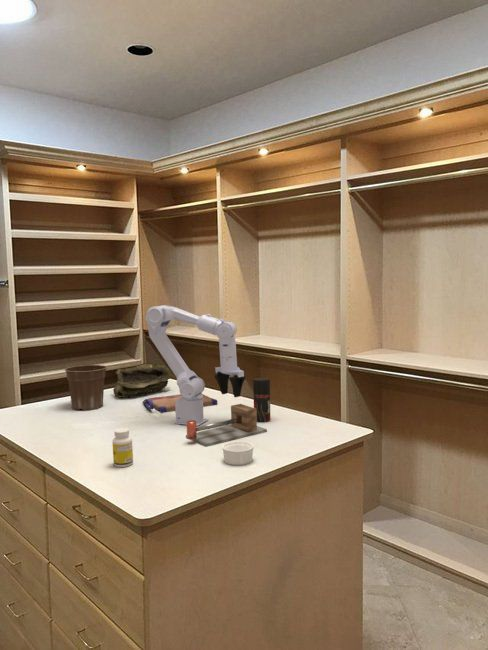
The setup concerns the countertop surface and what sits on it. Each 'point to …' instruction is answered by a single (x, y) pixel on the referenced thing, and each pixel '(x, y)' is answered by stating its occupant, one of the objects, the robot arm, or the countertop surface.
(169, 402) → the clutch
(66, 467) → the countertop surface
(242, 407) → the eye block
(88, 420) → the countertop surface
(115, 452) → the supplement bottle
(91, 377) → the plant pot
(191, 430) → the copper head mallet
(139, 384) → the hollow geode rock
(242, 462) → the ramekin
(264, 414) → the deodorant
